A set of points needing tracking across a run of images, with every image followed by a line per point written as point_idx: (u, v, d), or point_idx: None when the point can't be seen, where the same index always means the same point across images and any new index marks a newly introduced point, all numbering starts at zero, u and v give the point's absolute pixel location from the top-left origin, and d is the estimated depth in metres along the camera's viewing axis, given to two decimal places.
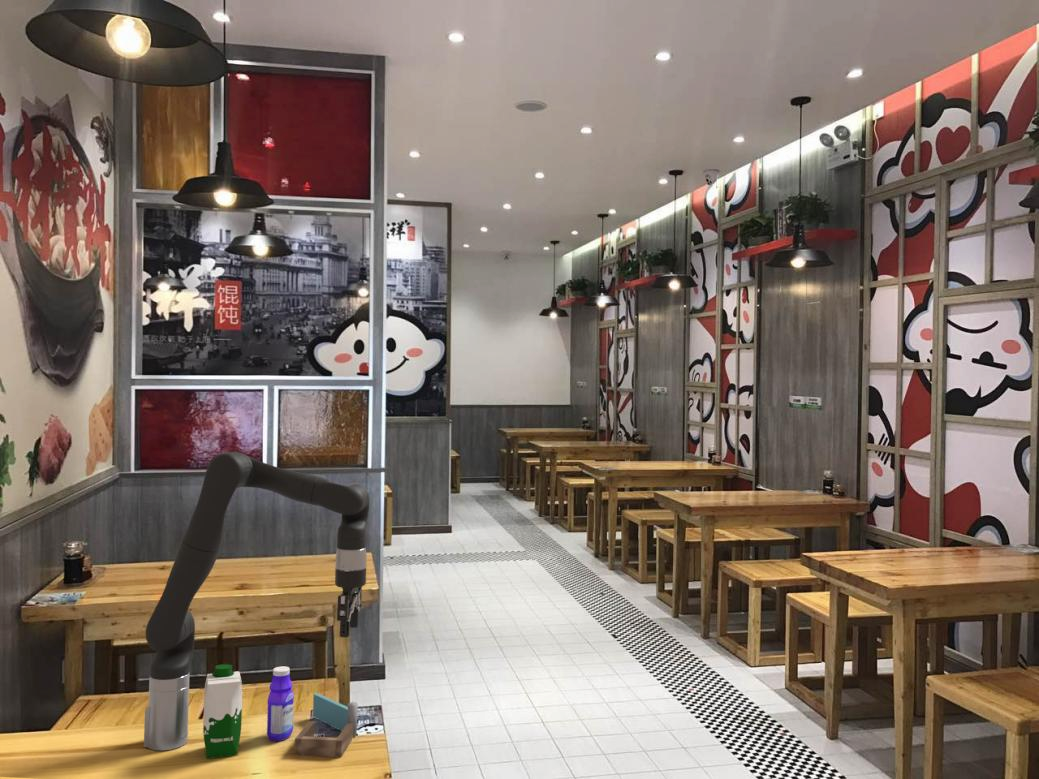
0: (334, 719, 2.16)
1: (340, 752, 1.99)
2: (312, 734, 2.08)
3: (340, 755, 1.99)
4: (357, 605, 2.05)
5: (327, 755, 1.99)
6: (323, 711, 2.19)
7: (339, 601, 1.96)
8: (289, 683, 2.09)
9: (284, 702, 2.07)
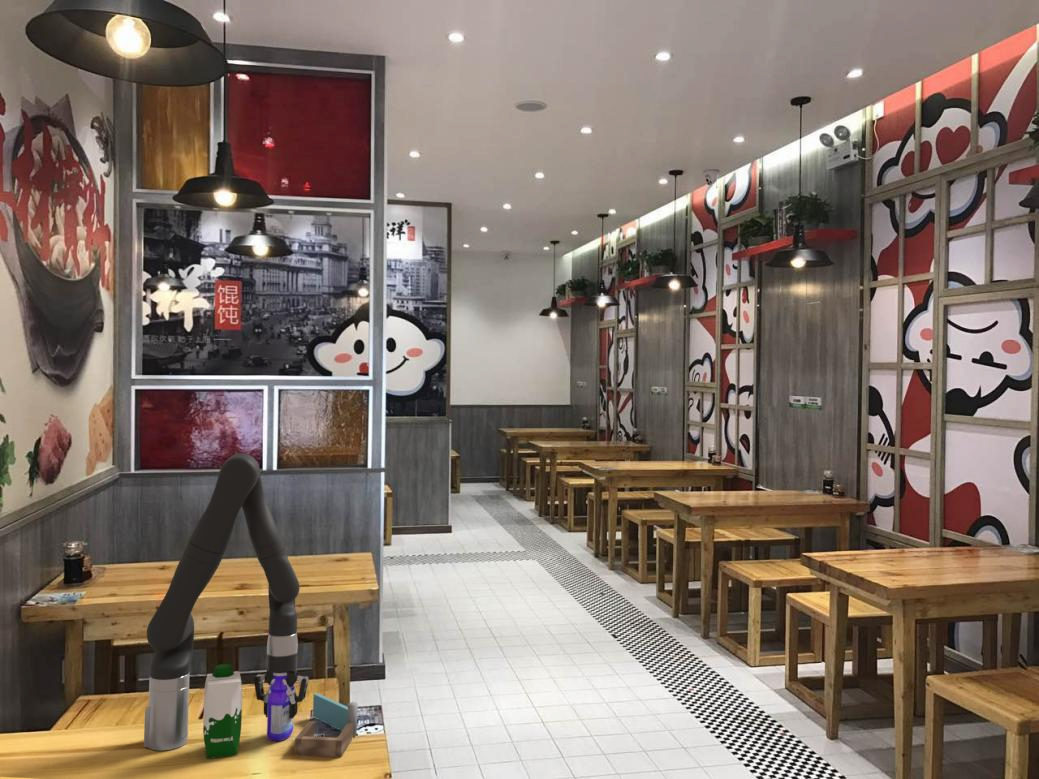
0: (334, 719, 2.16)
1: (340, 752, 1.99)
2: (312, 734, 2.08)
3: (340, 755, 1.99)
4: None
5: (327, 755, 1.99)
6: (323, 711, 2.19)
7: (305, 684, 2.09)
8: None
9: (284, 702, 2.07)
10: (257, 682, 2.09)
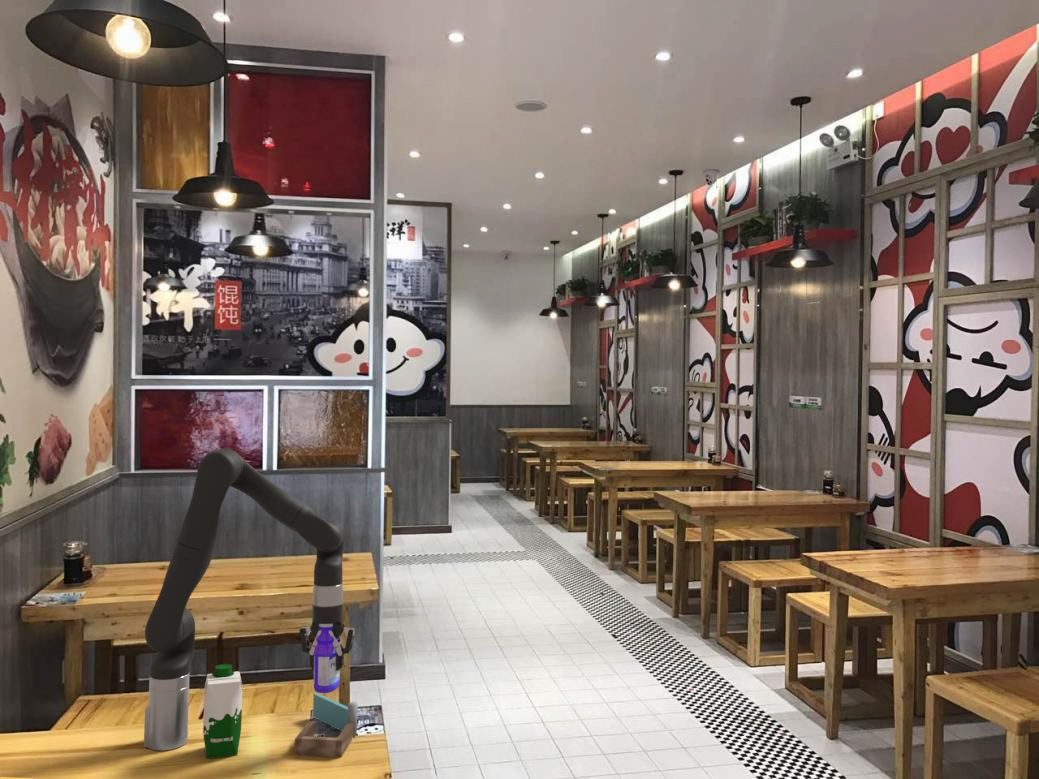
0: (334, 719, 2.16)
1: (340, 752, 1.99)
2: (312, 734, 2.08)
3: (340, 755, 1.99)
4: None
5: (327, 755, 1.99)
6: (323, 711, 2.19)
7: (352, 635, 2.05)
8: None
9: (331, 653, 2.03)
10: (303, 634, 2.05)
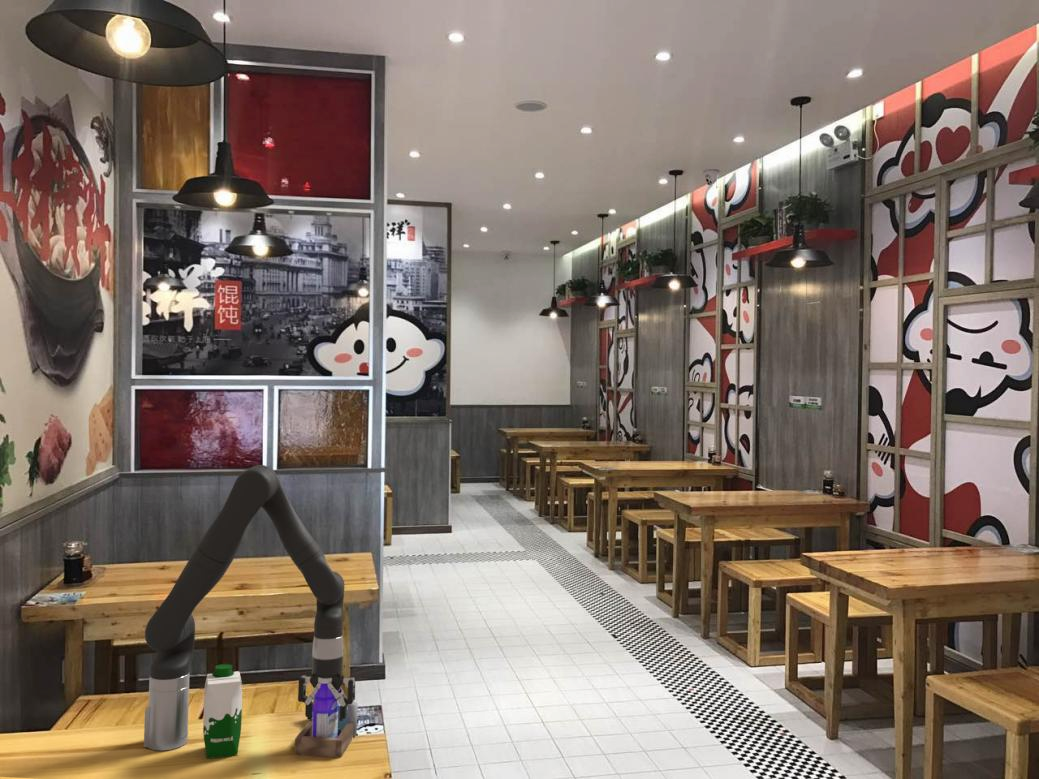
0: None
1: (340, 752, 1.99)
2: None
3: (340, 755, 1.99)
4: None
5: (327, 755, 1.99)
6: None
7: (353, 684, 2.04)
8: None
9: (330, 710, 2.02)
10: (301, 683, 2.04)
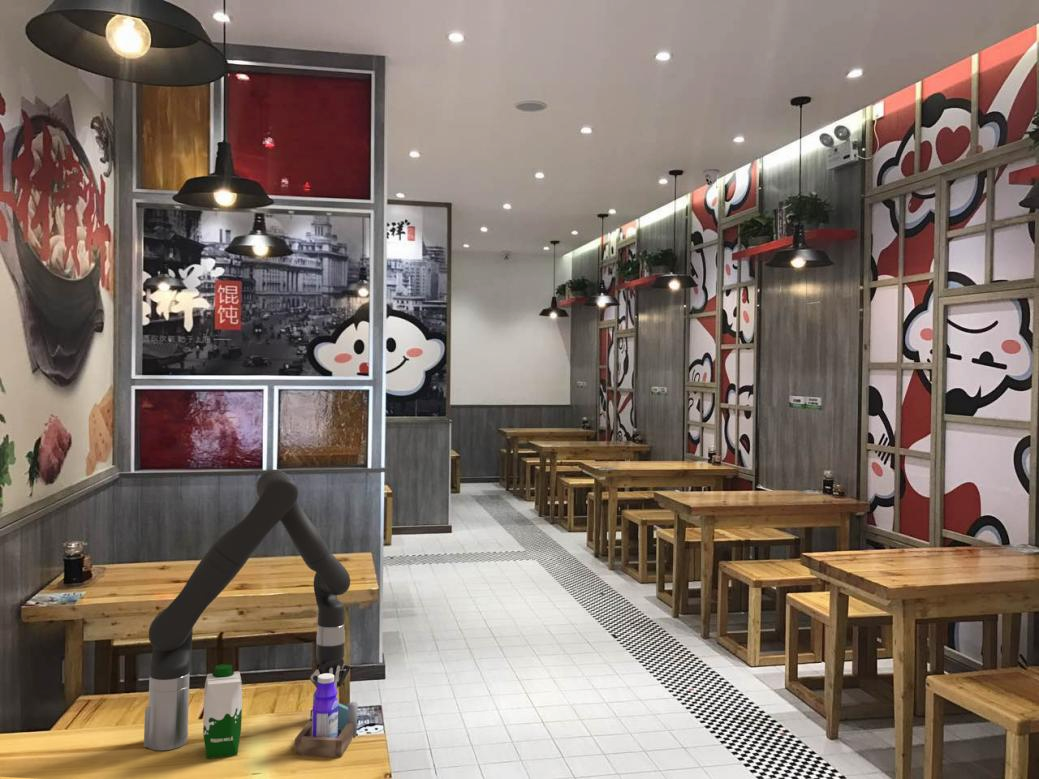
0: None
1: (340, 752, 1.99)
2: None
3: (340, 755, 1.99)
4: None
5: (327, 755, 1.99)
6: None
7: None
8: (334, 690, 2.05)
9: (330, 710, 2.02)
10: None
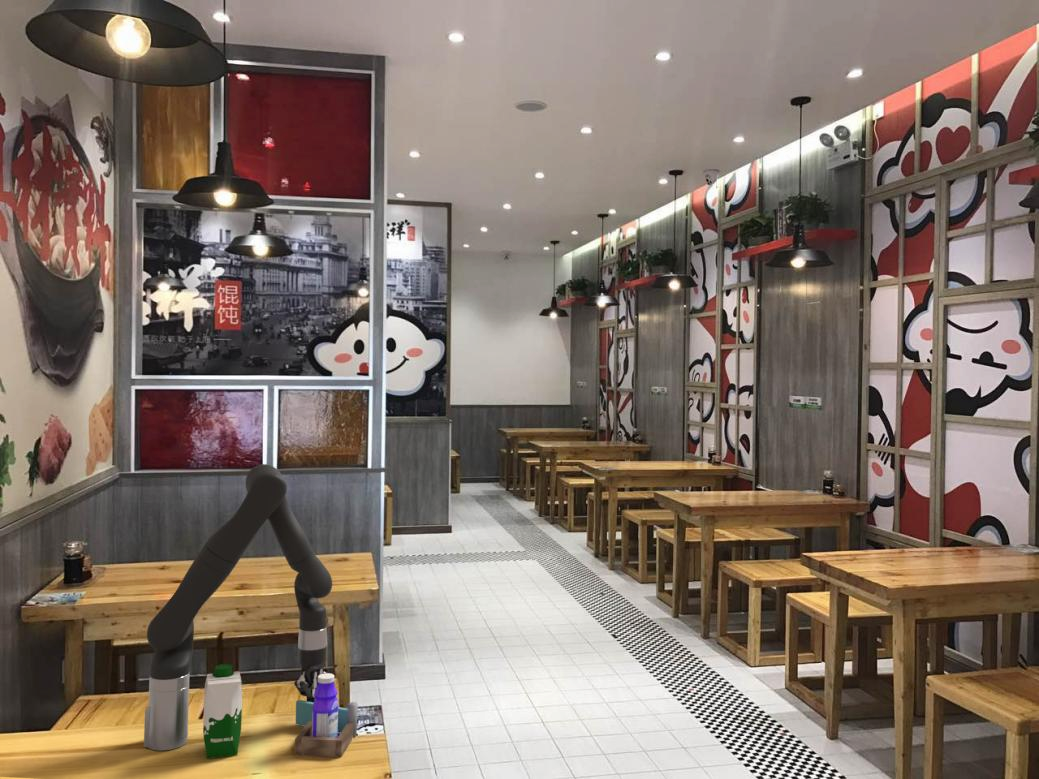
0: None
1: (340, 752, 1.99)
2: None
3: (340, 755, 1.99)
4: None
5: (327, 755, 1.99)
6: (311, 717, 2.15)
7: None
8: (334, 690, 2.05)
9: (330, 710, 2.02)
10: (305, 685, 2.14)
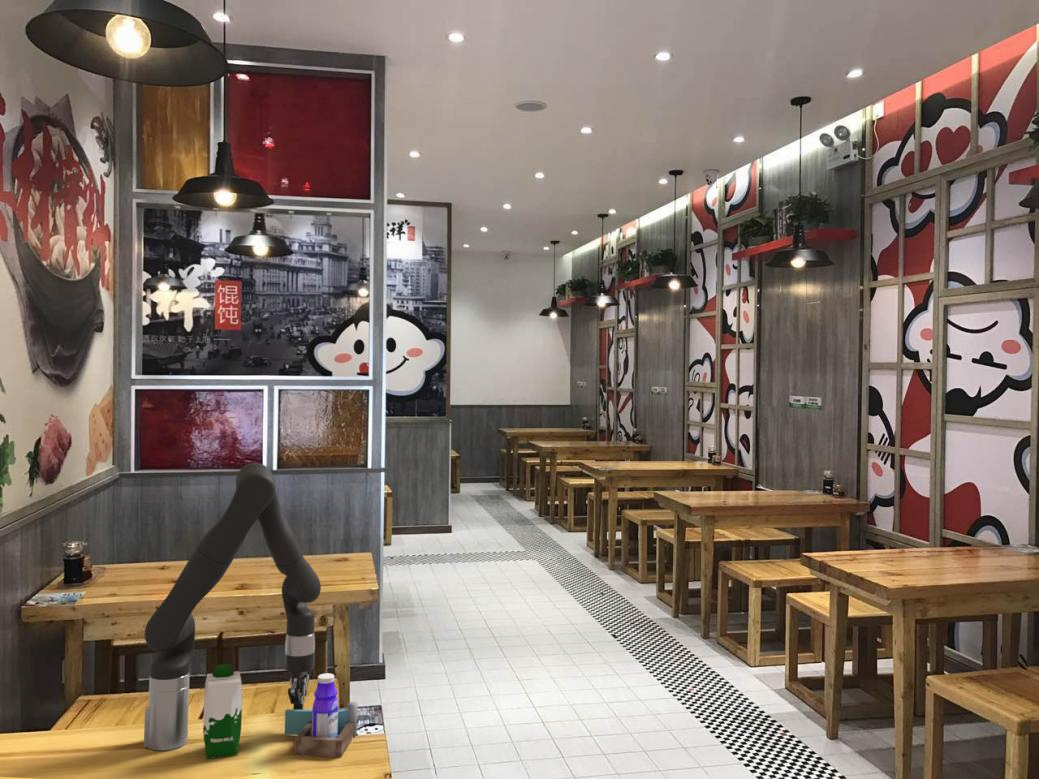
0: None
1: (340, 752, 1.99)
2: None
3: (340, 755, 1.99)
4: None
5: (327, 755, 1.99)
6: (304, 724, 2.10)
7: None
8: (334, 690, 2.05)
9: (330, 710, 2.02)
10: (298, 692, 2.09)
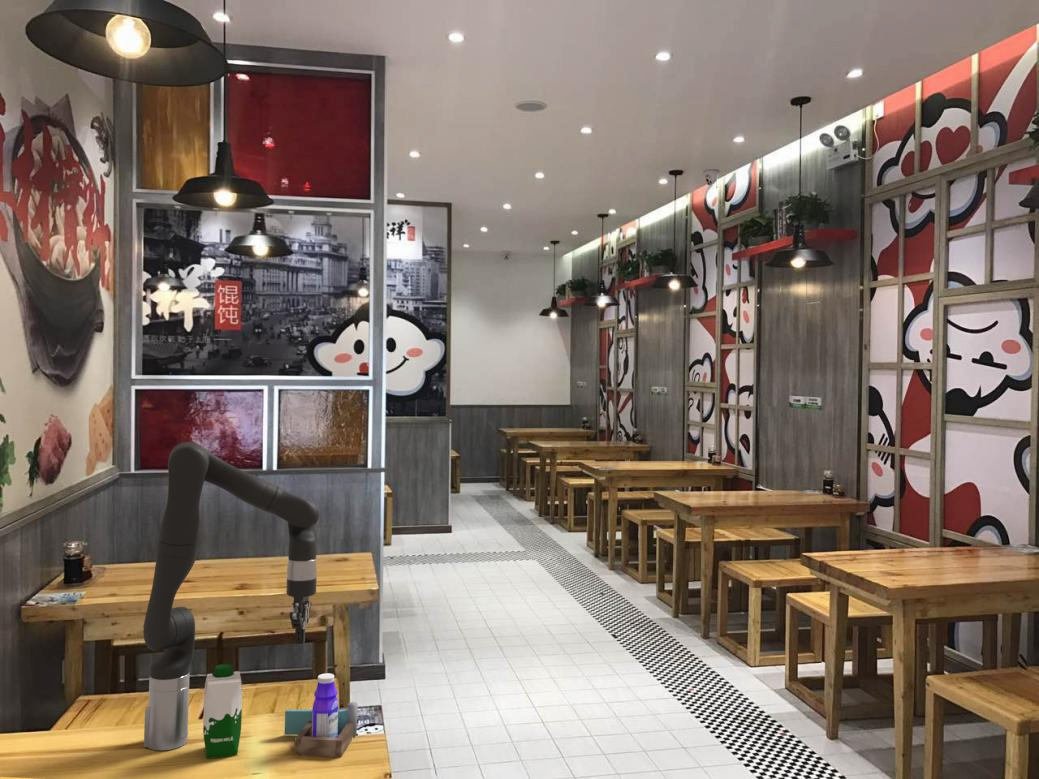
0: None
1: (340, 752, 1.99)
2: None
3: (340, 755, 1.99)
4: None
5: (327, 755, 1.99)
6: (304, 724, 2.10)
7: None
8: (334, 690, 2.05)
9: (330, 710, 2.02)
10: (300, 616, 2.09)
